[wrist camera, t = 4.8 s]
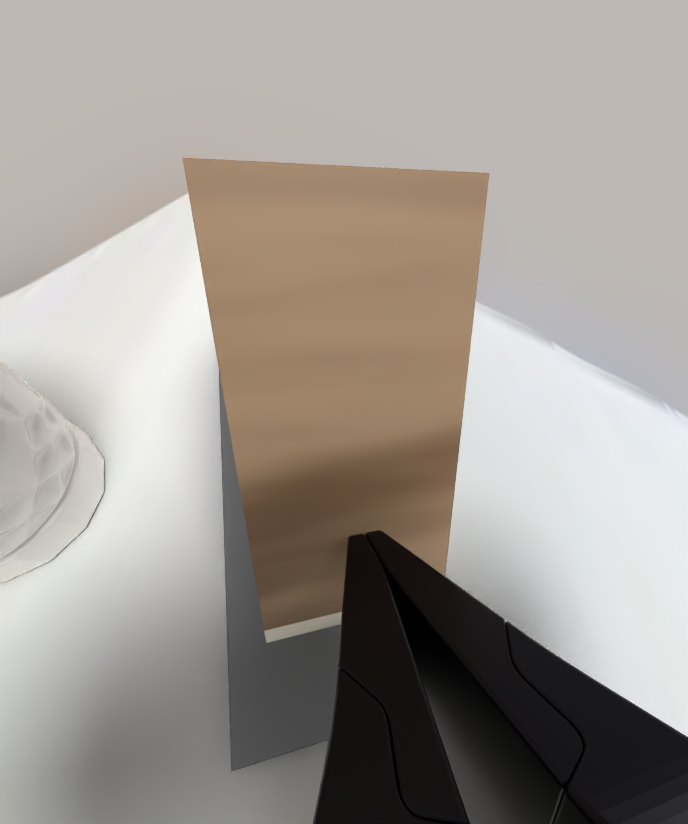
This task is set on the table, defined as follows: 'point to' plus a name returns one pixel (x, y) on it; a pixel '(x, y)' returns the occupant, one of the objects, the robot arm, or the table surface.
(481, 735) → the robot arm
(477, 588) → the table surface
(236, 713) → the plate
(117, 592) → the table surface
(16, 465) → the white cup
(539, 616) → the table surface
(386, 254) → the wooden block
